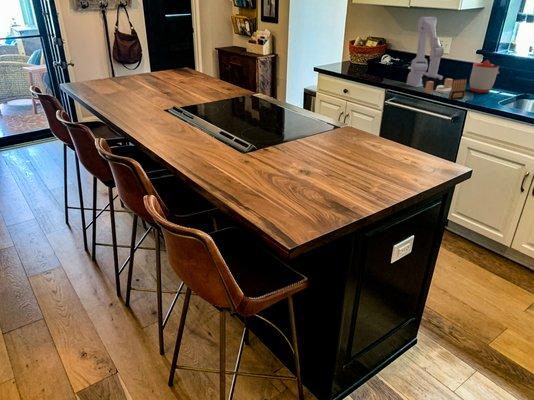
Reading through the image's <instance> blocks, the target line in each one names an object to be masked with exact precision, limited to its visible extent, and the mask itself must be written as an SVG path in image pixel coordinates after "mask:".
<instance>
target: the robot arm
mask: <svg viewBox="0 0 534 400" xmlns="http://www.w3.org/2000/svg"><path fill="white" fill-rule="evenodd" d="M437 22H438V19H437V17H436V16H420V18H419V19H418V25H417V30H418V40H417V48H416V57H415V58H414V59H411V64H410V71H409V73H408V75H407V78H406V83H405V85H406V86H411V87H414V88H419V87H422V88H423V89H425V88H426V83H427V81H429V79H430V78H433V82H434V86H433V90H436V88H437V86H439V85H440V83H441V82H442V80H443V77H444V76H443V75H440V74H438V71H439V66H440V61H441V57H443V55H444V53H445V52H444V51H445V50H444V47H443V46H442V45H441V42H440V39H439V37H438V36H437V30H436V26H437ZM428 35H429V40H428V43H429V47H430V51H429V65H428V59H427V58H425V57H426V56H425V54H426V45H427V38H428V37H427V36H428ZM427 70H428V71H427Z"/></svg>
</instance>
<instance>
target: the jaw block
mask: <svg viewBox="0 0 534 400" xmlns="http://www.w3.org/2000/svg"><path fill="white" fill-rule="evenodd" d="M433 86H434V81H432V80H428V81H427V83H426V88H424V93H425V94H429V93H430V94H433V92H434V91H433Z"/></svg>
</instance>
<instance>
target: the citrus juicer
mask: <svg viewBox="0 0 534 400" xmlns="http://www.w3.org/2000/svg"><path fill="white" fill-rule="evenodd" d="M499 69H500V66H499V65H498V66H495V64H493V63H490V60H488V59H487V60H485V61H483V62H475V63H473V64H472V69H471V73H470V77H469V90H470V91H472V92H475V93H485V94H486V93H490V91H491V90H492V88H493V86H494V84H495V82H496V78H497V75H498V74H500V71H499Z"/></svg>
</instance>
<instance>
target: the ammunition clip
mask: <svg viewBox="0 0 534 400" xmlns="http://www.w3.org/2000/svg"><path fill="white" fill-rule="evenodd" d="M466 85H467V78H463V79H462V78H461V79H453V83H452V89H451V91H450V93H449V95H448V100H449V101H453V100H454V101H455V100H460V99H461V100H463V99H464V98H465V94H466V93H465V92H466Z"/></svg>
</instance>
